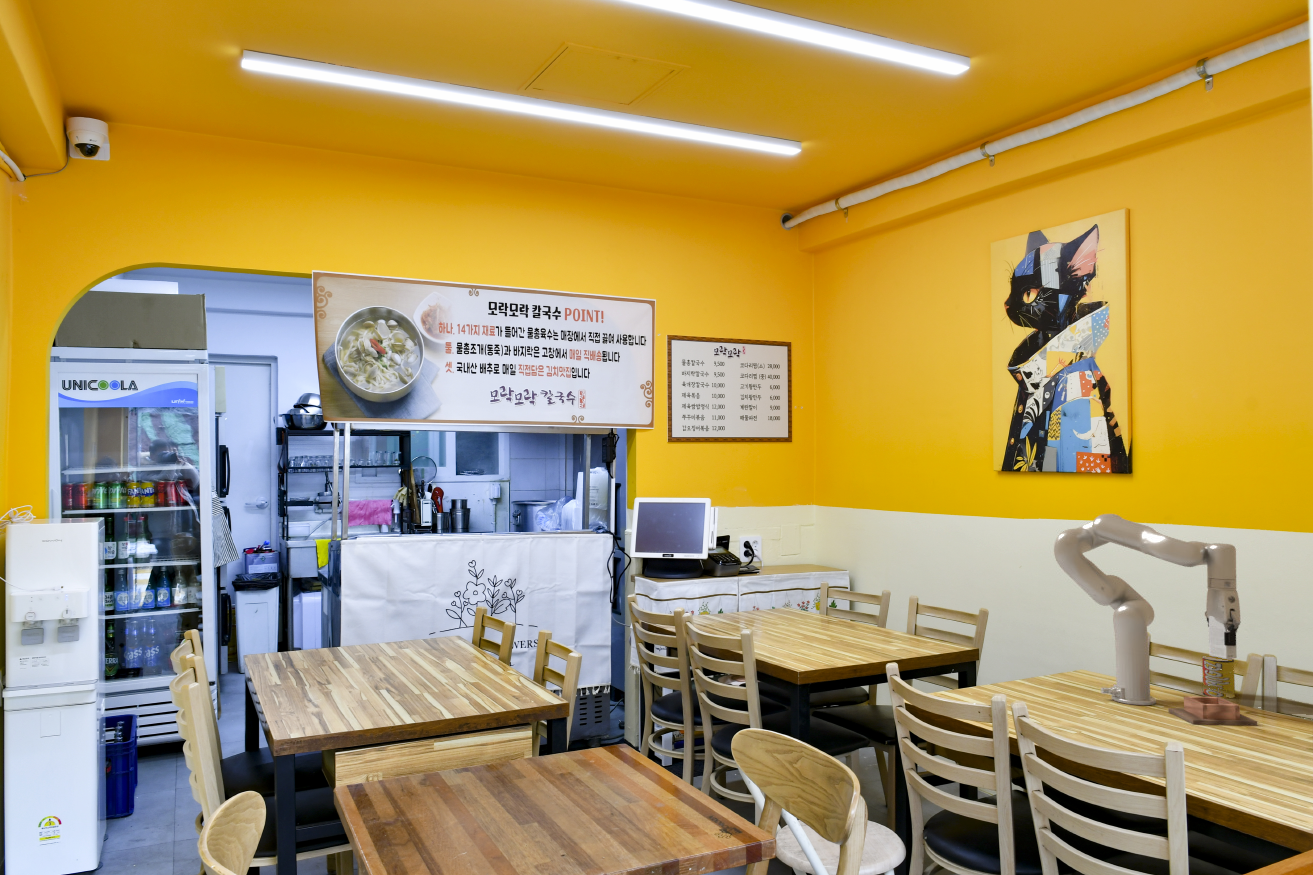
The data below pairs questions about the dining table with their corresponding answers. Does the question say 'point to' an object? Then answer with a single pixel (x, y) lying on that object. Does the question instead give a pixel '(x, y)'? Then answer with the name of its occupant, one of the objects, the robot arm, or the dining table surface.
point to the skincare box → (1219, 640)
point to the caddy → (1211, 712)
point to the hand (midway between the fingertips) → (1222, 642)
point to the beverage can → (1218, 675)
